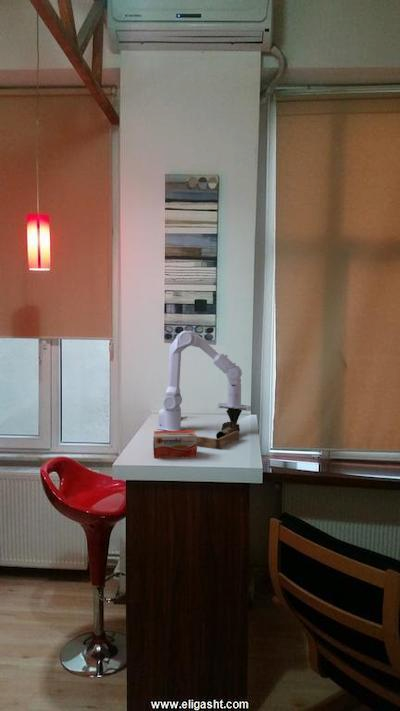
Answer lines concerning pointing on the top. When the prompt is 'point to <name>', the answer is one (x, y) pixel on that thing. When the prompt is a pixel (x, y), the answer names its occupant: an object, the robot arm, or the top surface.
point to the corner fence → (218, 440)
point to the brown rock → (228, 429)
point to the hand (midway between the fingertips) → (233, 426)
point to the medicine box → (175, 444)
